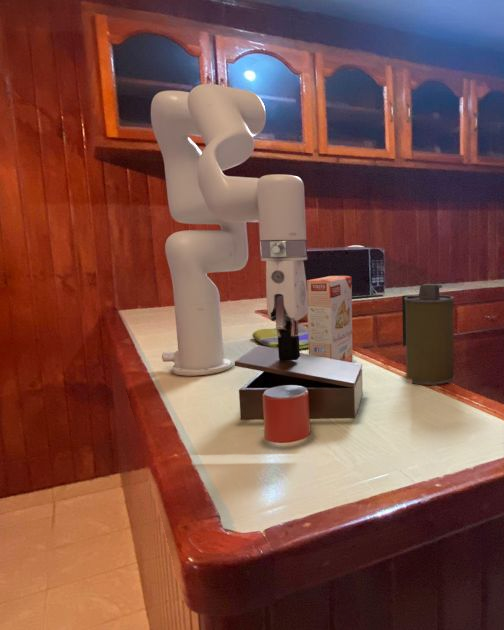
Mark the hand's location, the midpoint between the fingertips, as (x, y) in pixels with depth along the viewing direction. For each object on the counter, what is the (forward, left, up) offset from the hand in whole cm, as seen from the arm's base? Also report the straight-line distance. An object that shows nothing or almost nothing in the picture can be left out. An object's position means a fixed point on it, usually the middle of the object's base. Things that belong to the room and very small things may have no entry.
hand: (289, 358), depth 91 cm
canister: (+24, +20, -10) cm, 33 cm away
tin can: (+2, -13, -9) cm, 16 cm away
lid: (+2, 0, -2) cm, 3 cm away
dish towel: (-14, +61, -10) cm, 64 cm away
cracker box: (+2, +30, -10) cm, 32 cm away
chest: (+2, 0, -9) cm, 10 cm away
